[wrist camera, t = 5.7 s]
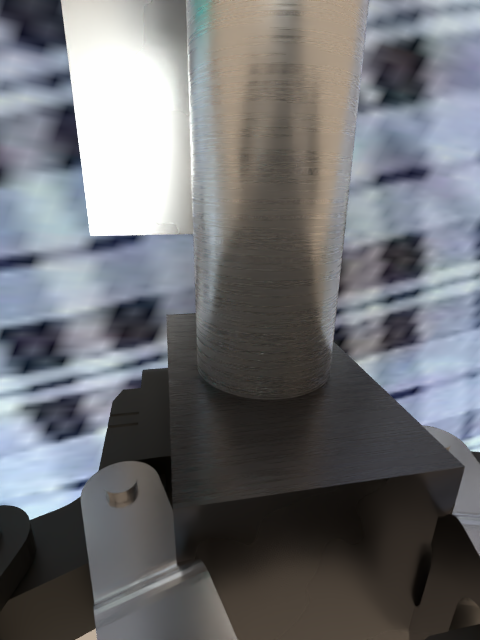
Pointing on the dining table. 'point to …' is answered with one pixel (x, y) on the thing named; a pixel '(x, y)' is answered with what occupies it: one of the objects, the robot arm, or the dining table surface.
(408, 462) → the shaft
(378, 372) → the dining table surface
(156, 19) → the pillow blocks
